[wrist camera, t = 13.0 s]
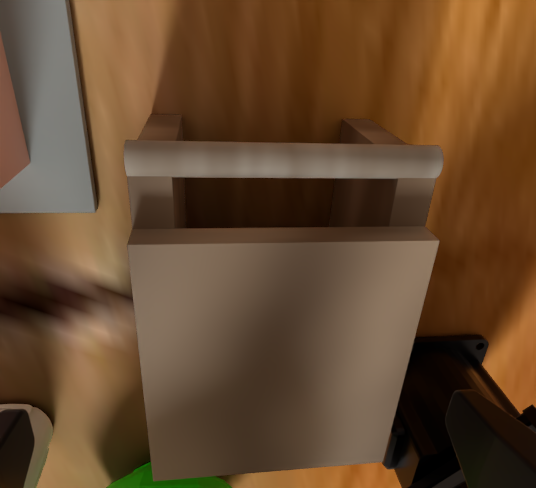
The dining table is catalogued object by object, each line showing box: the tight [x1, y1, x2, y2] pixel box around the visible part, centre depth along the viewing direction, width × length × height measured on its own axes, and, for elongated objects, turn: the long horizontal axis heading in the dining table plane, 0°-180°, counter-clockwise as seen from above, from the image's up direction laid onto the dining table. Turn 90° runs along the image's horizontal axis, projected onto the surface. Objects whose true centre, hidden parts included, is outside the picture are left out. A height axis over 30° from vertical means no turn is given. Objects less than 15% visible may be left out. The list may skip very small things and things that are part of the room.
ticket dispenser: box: [124, 114, 444, 481], centre depth 18 cm, size 9×14×7 cm, turn 177°
